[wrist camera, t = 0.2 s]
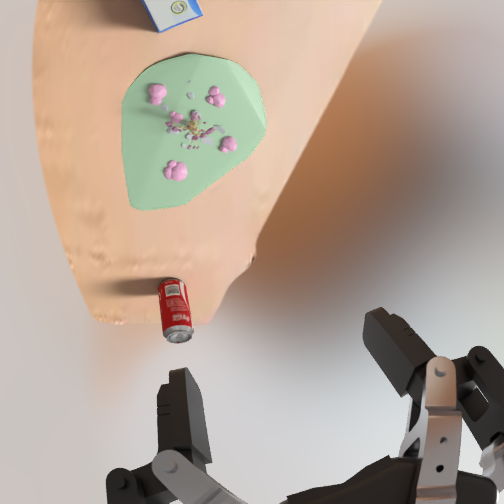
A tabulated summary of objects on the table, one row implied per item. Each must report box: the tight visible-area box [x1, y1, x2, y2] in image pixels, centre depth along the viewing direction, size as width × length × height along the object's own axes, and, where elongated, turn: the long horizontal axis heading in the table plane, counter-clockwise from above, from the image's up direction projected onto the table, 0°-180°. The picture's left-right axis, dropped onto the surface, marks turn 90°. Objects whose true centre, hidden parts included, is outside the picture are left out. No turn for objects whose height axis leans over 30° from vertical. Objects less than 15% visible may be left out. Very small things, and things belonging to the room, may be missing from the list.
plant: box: [122, 54, 267, 210], centre depth 31 cm, size 25×21×9 cm
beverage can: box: [158, 278, 194, 343], centre depth 51 cm, size 6×6×12 cm
